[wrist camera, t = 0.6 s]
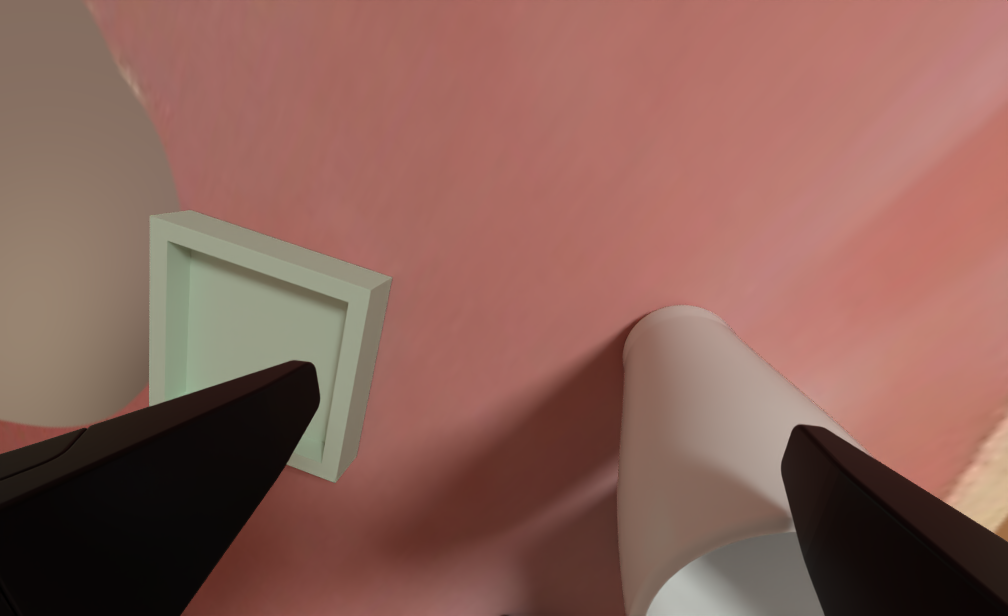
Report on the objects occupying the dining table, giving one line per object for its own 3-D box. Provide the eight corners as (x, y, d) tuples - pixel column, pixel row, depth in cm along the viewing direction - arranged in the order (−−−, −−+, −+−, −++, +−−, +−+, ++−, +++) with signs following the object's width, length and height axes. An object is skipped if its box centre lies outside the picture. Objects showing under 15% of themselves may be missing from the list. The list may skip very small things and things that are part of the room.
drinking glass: (656, 434, 24) (737, 809, 10) (580, 335, 24) (557, 599, 9) (780, 370, 22) (1097, 736, 8) (701, 257, 21) (906, 452, 7)
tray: (356, 456, 29) (335, 483, 26) (184, 392, 30) (149, 412, 27) (392, 277, 24) (370, 290, 22) (190, 210, 25) (149, 215, 23)
